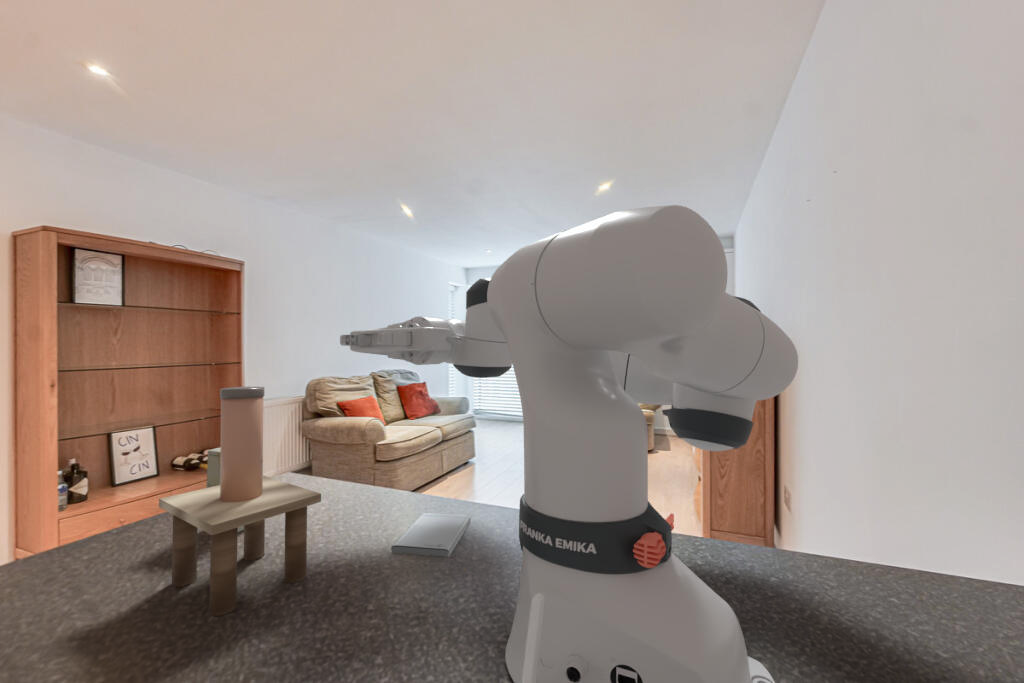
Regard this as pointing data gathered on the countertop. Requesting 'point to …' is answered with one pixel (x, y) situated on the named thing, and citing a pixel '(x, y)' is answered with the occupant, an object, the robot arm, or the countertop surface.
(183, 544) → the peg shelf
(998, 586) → the countertop surface
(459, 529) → the hard drive
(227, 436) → the spice jar
